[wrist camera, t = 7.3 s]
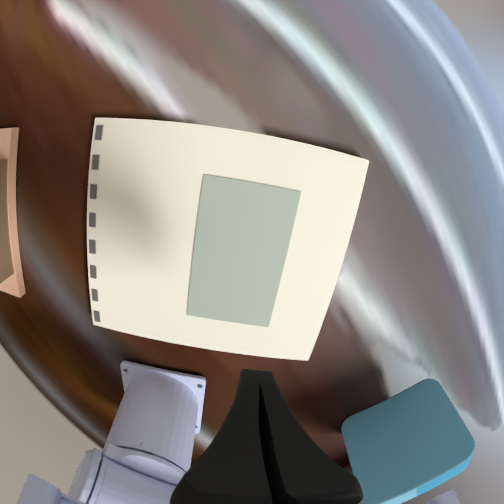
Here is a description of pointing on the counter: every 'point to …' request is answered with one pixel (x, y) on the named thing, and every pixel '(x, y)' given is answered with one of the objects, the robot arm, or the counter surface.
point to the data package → (407, 444)
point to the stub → (9, 216)
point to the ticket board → (216, 234)
